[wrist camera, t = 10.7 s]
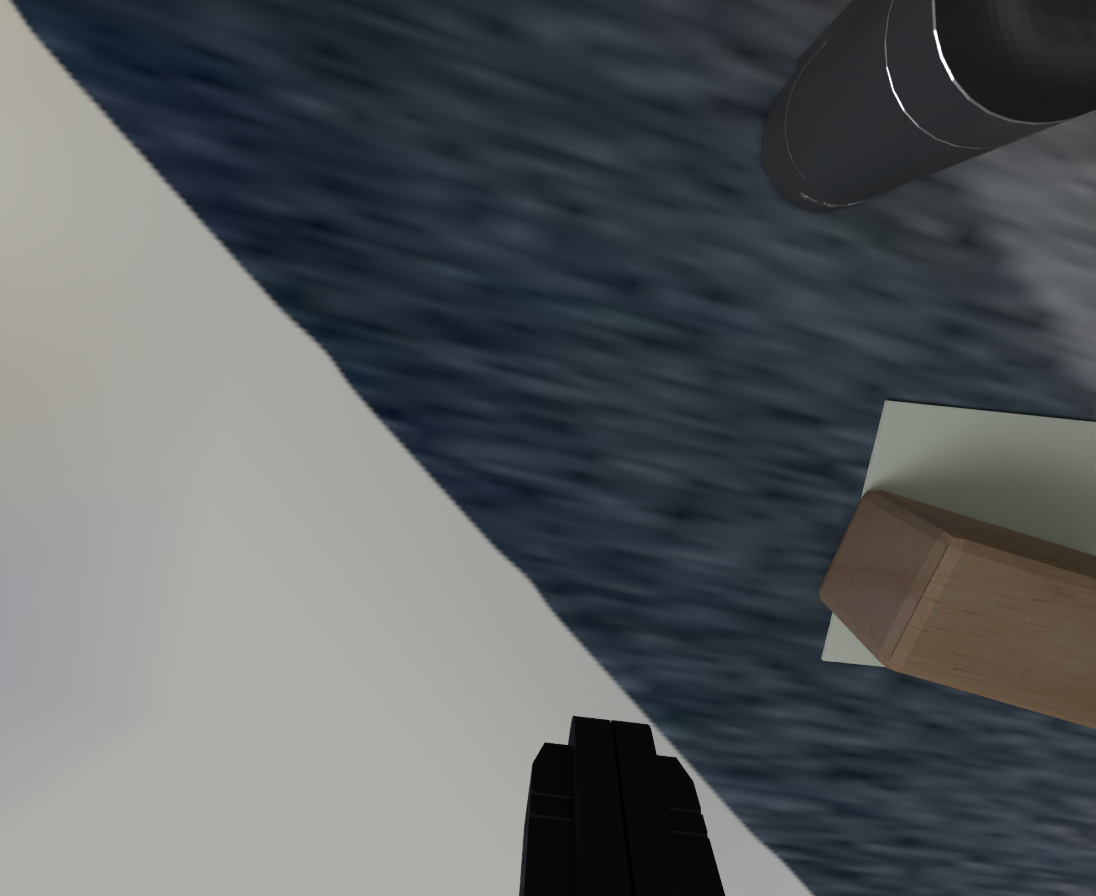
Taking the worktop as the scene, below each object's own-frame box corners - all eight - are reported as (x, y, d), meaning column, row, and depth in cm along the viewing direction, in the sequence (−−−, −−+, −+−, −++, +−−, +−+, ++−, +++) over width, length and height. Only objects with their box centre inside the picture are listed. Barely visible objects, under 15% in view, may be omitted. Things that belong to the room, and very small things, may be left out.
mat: (885, 400, 40) (887, 400, 40) (1175, 430, 40) (1180, 431, 40) (821, 658, 45) (822, 660, 45) (1079, 684, 46) (1082, 686, 45)
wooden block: (954, 532, 32) (1256, 624, 33) (861, 482, 42) (1096, 554, 43) (881, 673, 34) (1166, 755, 35) (809, 595, 44) (1034, 661, 45)
